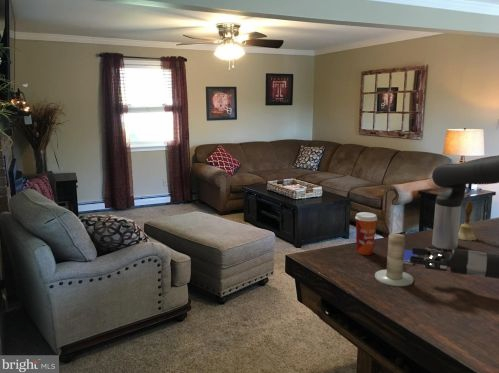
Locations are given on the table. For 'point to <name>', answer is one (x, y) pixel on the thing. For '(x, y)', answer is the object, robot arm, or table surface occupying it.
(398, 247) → the wooden cylinder
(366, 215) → the coffee cup
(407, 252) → the hard drive
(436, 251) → the robot arm
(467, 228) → the hand bell
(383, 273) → the white plate
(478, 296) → the table surface
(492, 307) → the table surface
